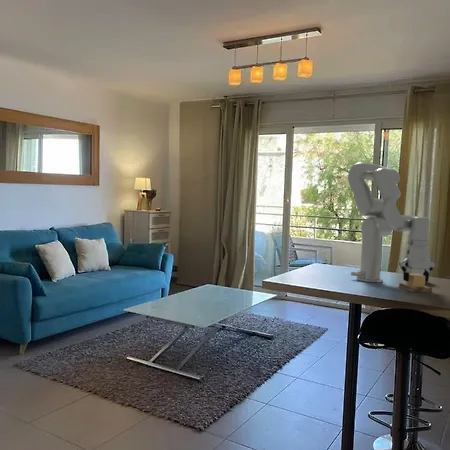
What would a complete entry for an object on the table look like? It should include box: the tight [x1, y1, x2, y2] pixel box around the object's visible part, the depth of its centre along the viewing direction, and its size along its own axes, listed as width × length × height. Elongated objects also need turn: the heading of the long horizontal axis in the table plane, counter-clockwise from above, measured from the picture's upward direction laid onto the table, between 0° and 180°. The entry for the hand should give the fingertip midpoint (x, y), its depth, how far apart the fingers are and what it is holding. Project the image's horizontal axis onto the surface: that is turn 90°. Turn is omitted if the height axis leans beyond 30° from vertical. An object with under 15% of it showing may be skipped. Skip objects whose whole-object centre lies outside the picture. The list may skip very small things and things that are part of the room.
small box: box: [412, 269, 427, 283], centre depth 231 cm, size 8×6×10 cm
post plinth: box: [398, 282, 433, 293], centre depth 207 cm, size 10×10×5 cm
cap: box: [405, 273, 426, 287], centre depth 207 cm, size 6×6×5 cm
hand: (415, 281), depth 207 cm, fingers open, 9 cm apart
